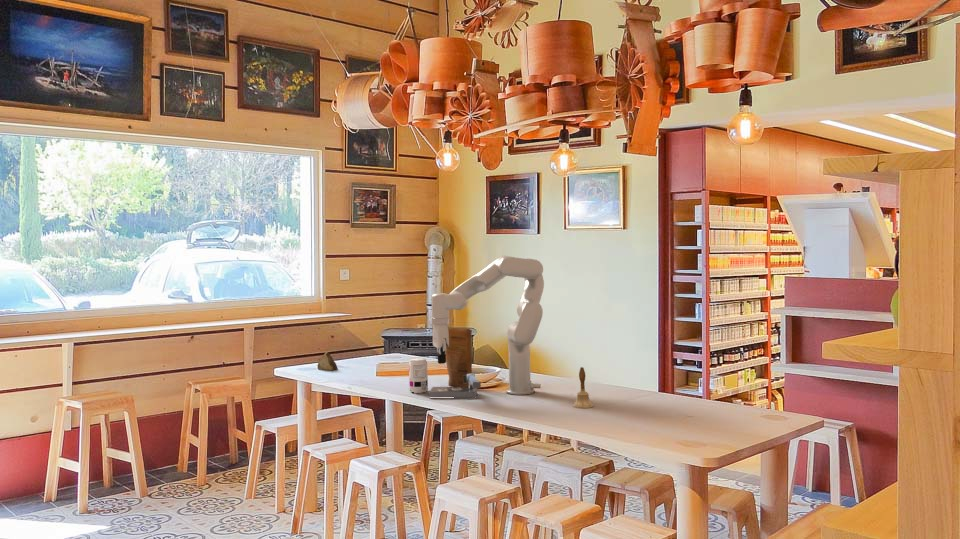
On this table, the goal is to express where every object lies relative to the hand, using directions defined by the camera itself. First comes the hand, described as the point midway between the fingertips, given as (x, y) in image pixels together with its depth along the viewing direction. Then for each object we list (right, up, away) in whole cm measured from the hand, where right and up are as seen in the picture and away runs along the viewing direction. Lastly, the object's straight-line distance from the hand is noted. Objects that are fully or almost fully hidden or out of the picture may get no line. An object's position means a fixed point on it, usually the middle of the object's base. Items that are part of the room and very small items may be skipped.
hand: (441, 363), depth 341 cm
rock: (-65, -12, +74) cm, 99 cm away
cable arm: (+14, -8, -3) cm, 17 cm away
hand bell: (+59, -15, -21) cm, 64 cm away
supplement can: (-11, -15, +13) cm, 23 cm away
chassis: (+5, -15, +3) cm, 16 cm away
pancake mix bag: (+7, -14, +22) cm, 27 cm away
